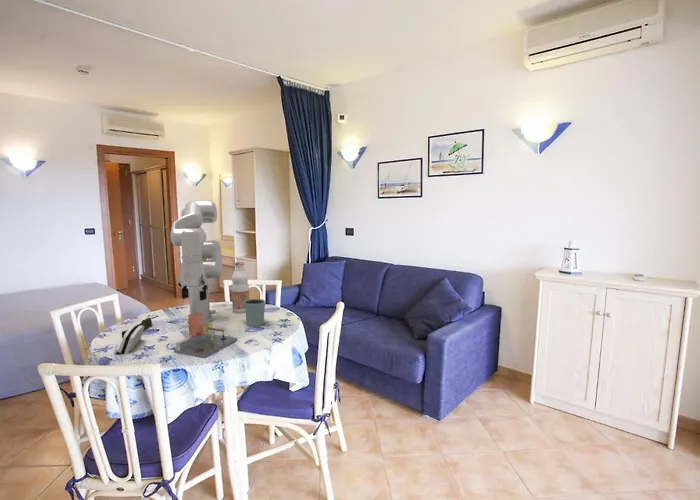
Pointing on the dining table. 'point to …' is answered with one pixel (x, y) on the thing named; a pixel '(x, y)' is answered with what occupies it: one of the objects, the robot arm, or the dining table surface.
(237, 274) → the fruit juice
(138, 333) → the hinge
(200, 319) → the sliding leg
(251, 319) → the green cup
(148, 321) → the hand tool
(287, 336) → the dining table surface
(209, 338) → the grey clamp fixture plate
